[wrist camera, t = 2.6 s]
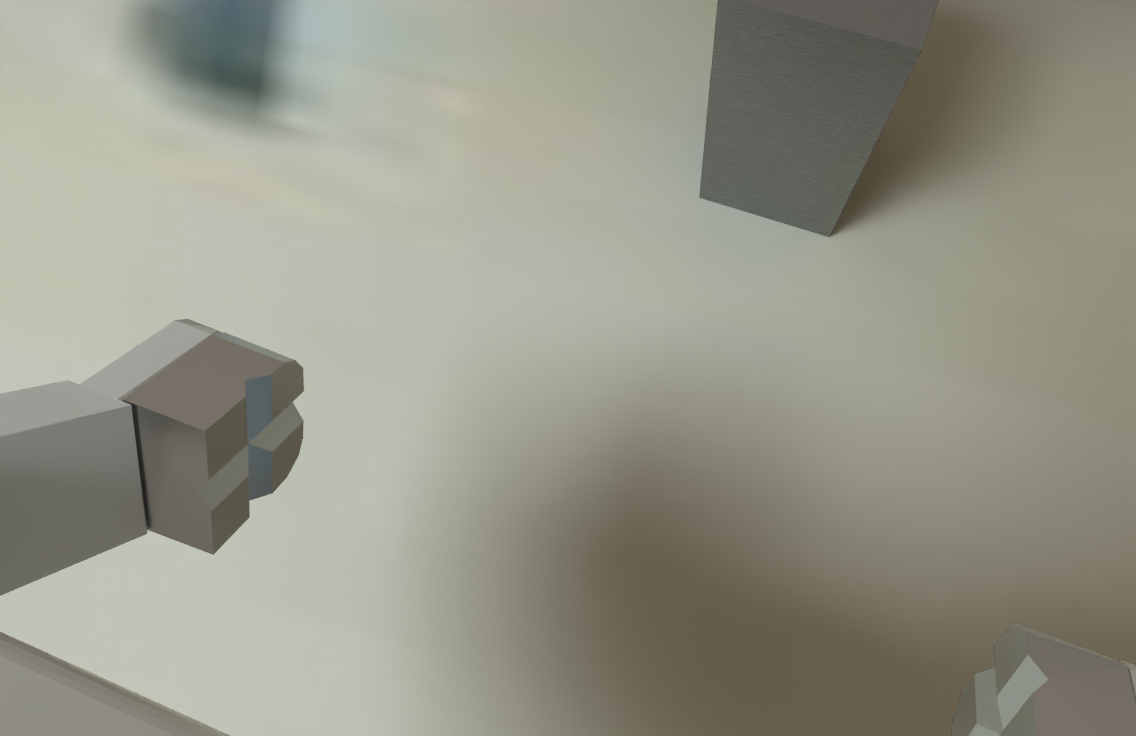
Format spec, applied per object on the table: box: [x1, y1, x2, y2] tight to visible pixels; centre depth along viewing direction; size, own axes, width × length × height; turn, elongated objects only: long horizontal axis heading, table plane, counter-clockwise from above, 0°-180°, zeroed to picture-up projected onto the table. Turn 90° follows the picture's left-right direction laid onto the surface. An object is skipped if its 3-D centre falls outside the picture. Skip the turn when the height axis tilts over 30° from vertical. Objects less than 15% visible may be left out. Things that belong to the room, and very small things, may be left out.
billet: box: [699, 0, 938, 237], centre depth 23 cm, size 4×4×10 cm
